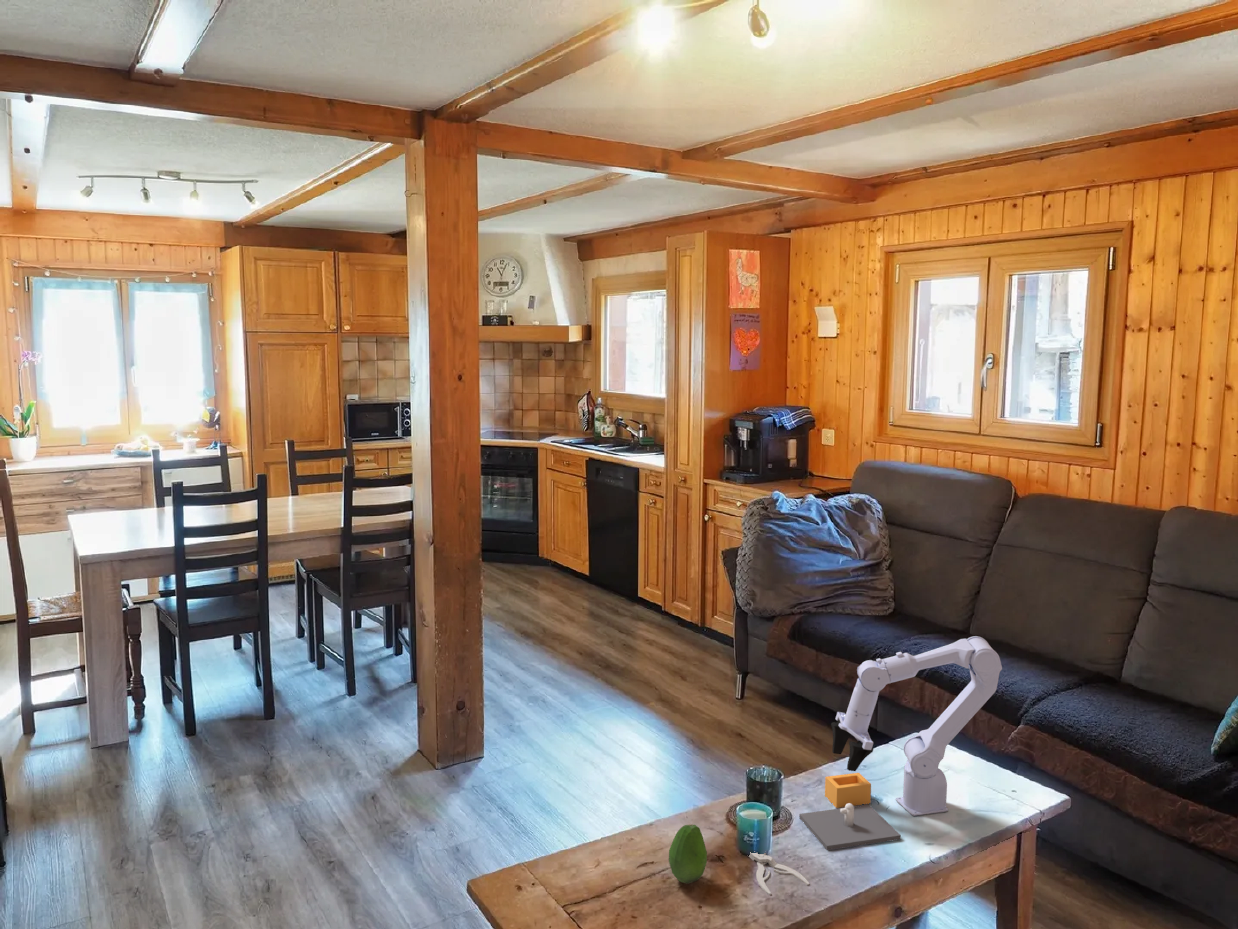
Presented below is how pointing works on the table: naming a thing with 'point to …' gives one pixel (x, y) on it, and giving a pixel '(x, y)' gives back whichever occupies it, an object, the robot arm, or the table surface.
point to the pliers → (766, 859)
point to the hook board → (849, 827)
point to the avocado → (688, 854)
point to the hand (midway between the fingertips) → (843, 761)
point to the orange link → (847, 790)
